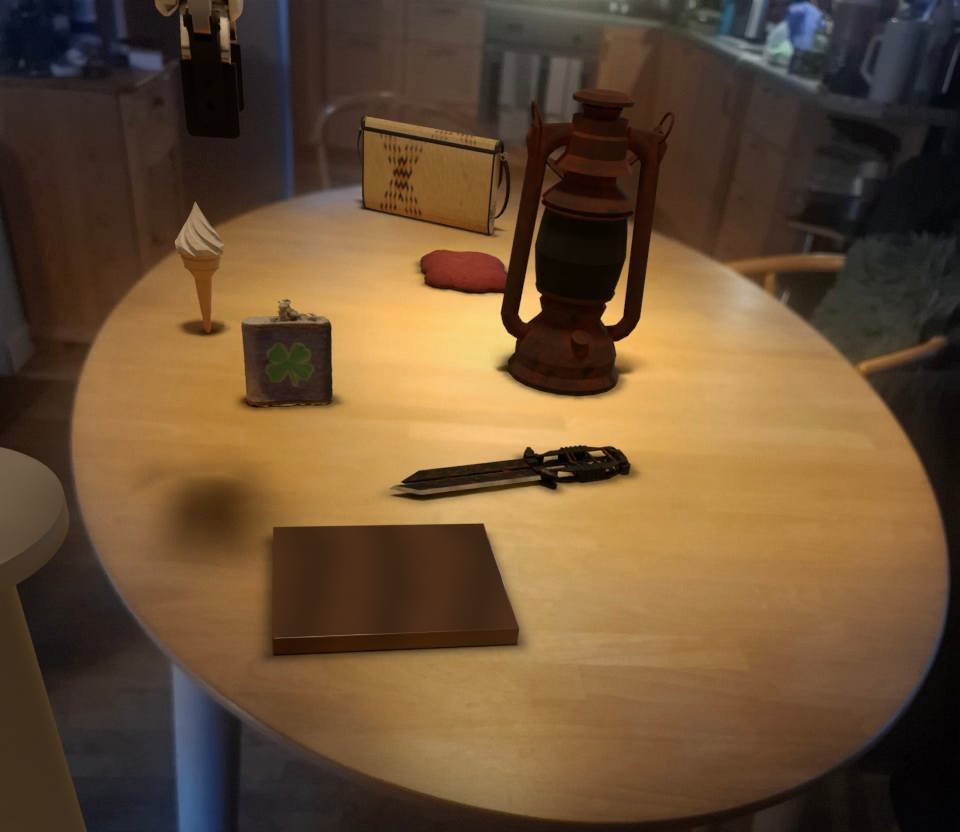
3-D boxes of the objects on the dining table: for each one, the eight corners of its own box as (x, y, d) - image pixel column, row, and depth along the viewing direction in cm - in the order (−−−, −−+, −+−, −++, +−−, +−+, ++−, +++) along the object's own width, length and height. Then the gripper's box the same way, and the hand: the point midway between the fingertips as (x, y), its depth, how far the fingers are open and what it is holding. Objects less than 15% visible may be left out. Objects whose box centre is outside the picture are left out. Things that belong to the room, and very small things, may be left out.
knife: (394, 503, 82) (394, 489, 81) (378, 469, 87) (378, 456, 86) (638, 482, 89) (641, 470, 89) (611, 452, 94) (614, 440, 93)
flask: (247, 407, 95) (240, 305, 88) (245, 396, 97) (238, 296, 90) (334, 405, 97) (333, 306, 91) (330, 394, 99) (329, 296, 93)
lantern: (505, 394, 103) (539, 96, 85) (484, 350, 114) (509, 76, 95) (646, 396, 107) (708, 109, 88) (612, 352, 117) (661, 88, 99)
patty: (519, 295, 133) (520, 281, 131) (427, 291, 130) (427, 277, 129) (499, 260, 146) (501, 247, 145) (415, 256, 144) (416, 243, 142)
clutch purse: (511, 230, 161) (521, 137, 152) (496, 239, 156) (505, 143, 147) (369, 200, 169) (369, 110, 160) (350, 207, 164) (349, 114, 155)
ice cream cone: (176, 328, 110) (160, 197, 101) (217, 321, 114) (205, 193, 104) (199, 343, 107) (184, 209, 98) (240, 335, 111) (230, 204, 101)
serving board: (273, 654, 64) (272, 638, 63) (273, 541, 75) (272, 526, 74) (517, 644, 67) (519, 628, 66) (482, 537, 79) (483, 523, 78)
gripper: (135, -225, 55) (171, 97, 65) (91, -268, 41) (144, 144, 52) (260, -208, 56) (275, 105, 67) (256, -244, 43) (275, 153, 54)
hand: (218, 122), depth 59 cm, fingers open, 9 cm apart
